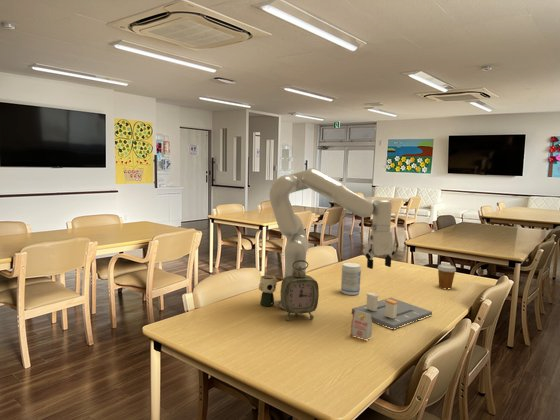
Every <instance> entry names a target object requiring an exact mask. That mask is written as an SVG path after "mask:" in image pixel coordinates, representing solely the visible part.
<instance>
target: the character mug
mask: <svg viewBox="0 0 560 420" xmlns="http://www.w3.org/2000/svg"><path fill="white" fill-rule="evenodd" d="M259 281H260V282H259V283H258V290H259V291H260V292H262V293H261V295H260V296H261V297H260V302H259V303H260V304H261V305H263V306H264V307H270V306H274V305H275V296H274V292H276V290H277V288H276V287H277V283H278V280H277V277H276V276H274V275H269V274H267V275H266V274H265V275H264V274H263V275H261V276H260V280H259Z"/></svg>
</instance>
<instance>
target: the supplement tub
mask: <svg viewBox="0 0 560 420" xmlns="http://www.w3.org/2000/svg"><path fill="white" fill-rule="evenodd" d="M361 269H362V268H361V264H359V263H355V262H344V263H342V266H341V282H340V291H341V293H342V294H344V295H346V296H347V295H348V296H355V295H359V294H360V290H361V289H360V288H361V274H362V272H361V271H362V270H361Z"/></svg>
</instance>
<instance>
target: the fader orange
mask: <svg viewBox="0 0 560 420" xmlns="http://www.w3.org/2000/svg"><path fill="white" fill-rule="evenodd" d="M386 299H387V300H385V302H386V306H385V316H387V317H389V318H392V319H393V318H396V313H397V304H398V302H397V301H394V300H391V299H388V298H386Z"/></svg>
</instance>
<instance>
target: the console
mask: <svg viewBox="0 0 560 420" xmlns="http://www.w3.org/2000/svg"><path fill="white" fill-rule="evenodd" d="M387 299H391V300H394V301H397V302H398V304H397V313H396V318H393V319H392V318H389V317H387V316H385V306H386V302H385V300H387ZM366 305H367V304H363V305H361V306H357V307H353V308H351V314H353V315H354V310H358V311H362V312H365V313H369V314H371V319H372V321H373V322H372V323H375V322H376V323H375V324H377V323H379V324H381V325H380V326H382V325H384V326H387V327H390V328H393V329H394V328H397V327H399V326H402V325H404V324H407V323H410V322H413V321H416V320H418V319H421V318H424V317H426V316H429V315H432V316H433V311H432V310H431V311H430V310H428V309H425V308H422V307H419V306H417V305H413V304H411V303H408V302H404V301H402V300H401V299H400V300H399V299H396V298H393V297H387V298H385V299H382V300H381V299H380V300H378V303H377V310H376V311H372V310H369V309H366ZM379 324H378V325H379ZM384 326H383V327H384ZM387 327H386V328H387Z"/></svg>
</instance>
